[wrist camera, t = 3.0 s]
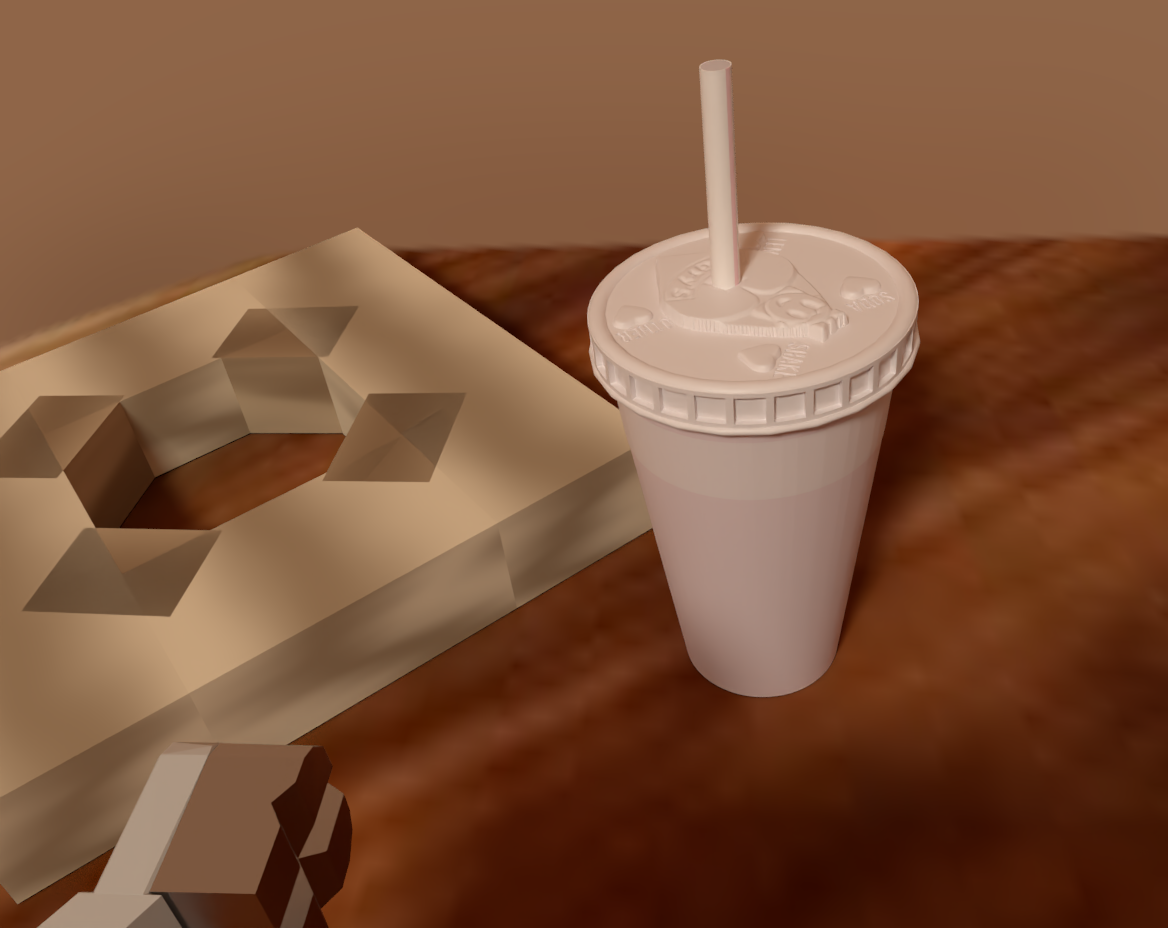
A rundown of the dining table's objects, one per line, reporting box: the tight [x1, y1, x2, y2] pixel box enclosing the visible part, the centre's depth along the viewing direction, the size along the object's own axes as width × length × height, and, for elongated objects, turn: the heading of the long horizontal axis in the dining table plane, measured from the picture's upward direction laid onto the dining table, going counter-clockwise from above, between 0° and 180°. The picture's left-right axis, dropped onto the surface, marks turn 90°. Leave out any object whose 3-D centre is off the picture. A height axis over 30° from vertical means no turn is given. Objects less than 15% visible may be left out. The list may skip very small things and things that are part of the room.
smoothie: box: [587, 60, 920, 697], centre depth 23 cm, size 6×6×14 cm
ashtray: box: [0, 228, 653, 904], centre depth 33 cm, size 18×18×3 cm
